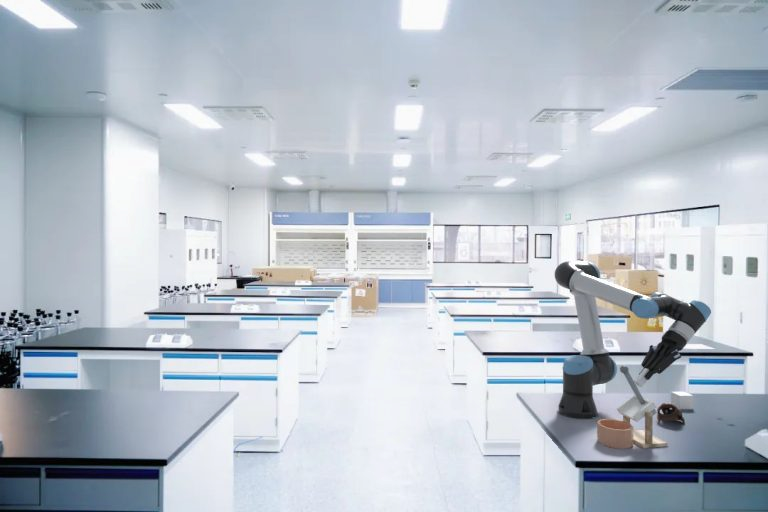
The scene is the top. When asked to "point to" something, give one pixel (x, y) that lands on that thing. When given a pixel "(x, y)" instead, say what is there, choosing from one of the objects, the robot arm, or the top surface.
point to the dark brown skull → (669, 413)
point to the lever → (635, 401)
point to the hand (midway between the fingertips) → (637, 384)
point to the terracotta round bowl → (615, 433)
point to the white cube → (682, 400)
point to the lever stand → (646, 433)
